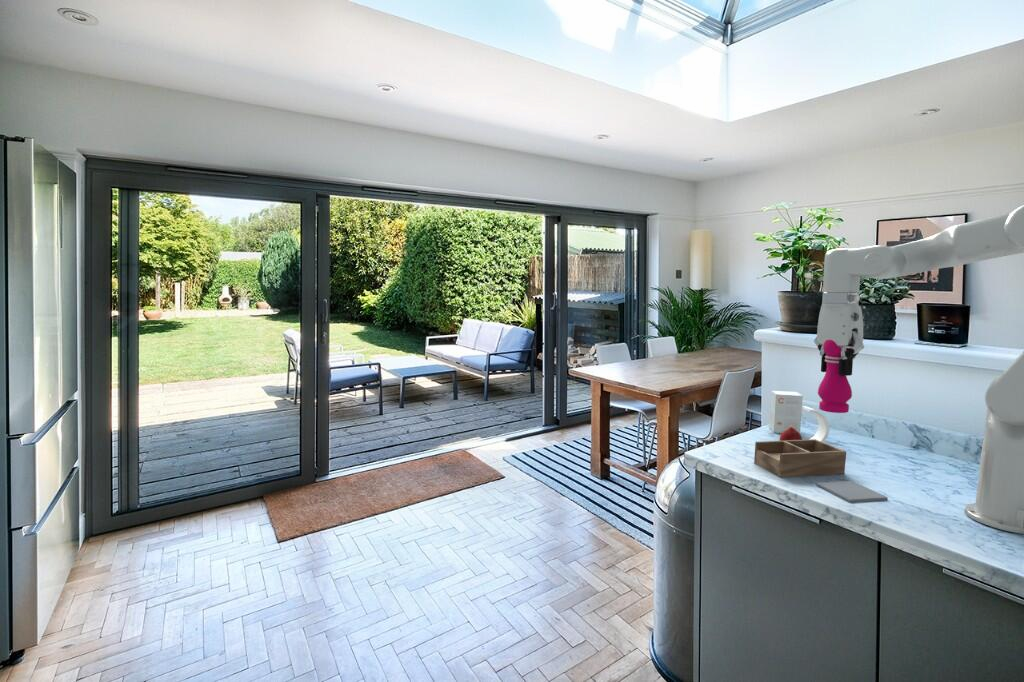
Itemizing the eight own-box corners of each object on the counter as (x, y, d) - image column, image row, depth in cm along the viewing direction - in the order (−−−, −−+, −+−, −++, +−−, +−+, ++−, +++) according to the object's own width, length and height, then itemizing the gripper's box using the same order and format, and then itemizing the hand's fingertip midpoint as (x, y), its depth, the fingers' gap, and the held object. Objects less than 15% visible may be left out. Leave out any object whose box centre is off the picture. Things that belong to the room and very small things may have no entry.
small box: (794, 429, 175) (797, 391, 174) (800, 434, 169) (803, 395, 168) (768, 427, 177) (770, 390, 175) (773, 433, 171) (776, 394, 169)
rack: (844, 474, 134) (846, 451, 133) (780, 477, 131) (782, 454, 130) (813, 460, 144) (815, 439, 144) (754, 463, 141) (755, 441, 140)
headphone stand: (799, 444, 159) (802, 405, 158) (819, 445, 158) (823, 406, 157) (806, 449, 154) (809, 409, 153) (827, 449, 154) (831, 410, 152)
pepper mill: (856, 414, 125) (861, 331, 123) (822, 412, 127) (827, 331, 125) (844, 407, 132) (848, 329, 130) (812, 406, 134) (817, 329, 132)
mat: (887, 499, 118) (887, 497, 118) (849, 502, 116) (849, 499, 116) (851, 483, 128) (851, 480, 128) (815, 485, 126) (815, 482, 126)
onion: (803, 452, 151) (805, 425, 150) (798, 457, 146) (800, 429, 146) (782, 448, 155) (784, 422, 154) (776, 452, 150) (777, 425, 149)
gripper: (883, 300, 119) (878, 378, 121) (827, 299, 136) (824, 368, 138) (854, 300, 118) (849, 379, 120) (801, 299, 135) (798, 369, 136)
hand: (836, 372), depth 129 cm, fingers closed on pepper mill, 5 cm apart
